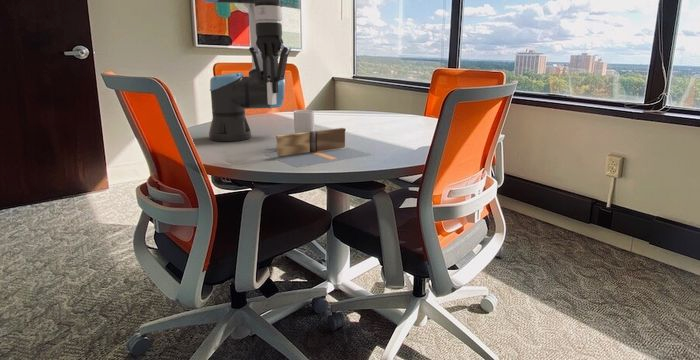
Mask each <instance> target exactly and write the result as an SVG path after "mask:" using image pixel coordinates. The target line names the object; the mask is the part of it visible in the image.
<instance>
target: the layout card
mask: <svg viewBox="0 0 700 360" xmlns="http://www.w3.org/2000/svg"><path fill="white" fill-rule="evenodd" d="M262 155H265V156H267V157H270V158H272V159H275V160H277V161H280V162H282V163H284V164H286V165H289V166H291V167H295V168H302V167H305V166H312V165H318V164H325V163H330V162H331V163H332V162H337V161H342V160H348V159H349V160H351V159H354V158H362V157H366V156H372V155H373V154H371V153H368V152H365V151H362V150H357V149H354V148H351V147H347V146H345V147H344V148H338V149H331V150H324V151H316V152H314V153H311V152H306V153H299V154H292V155H285V156H277V151H273V152H272V151H271V152H265V153H262Z"/></svg>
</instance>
